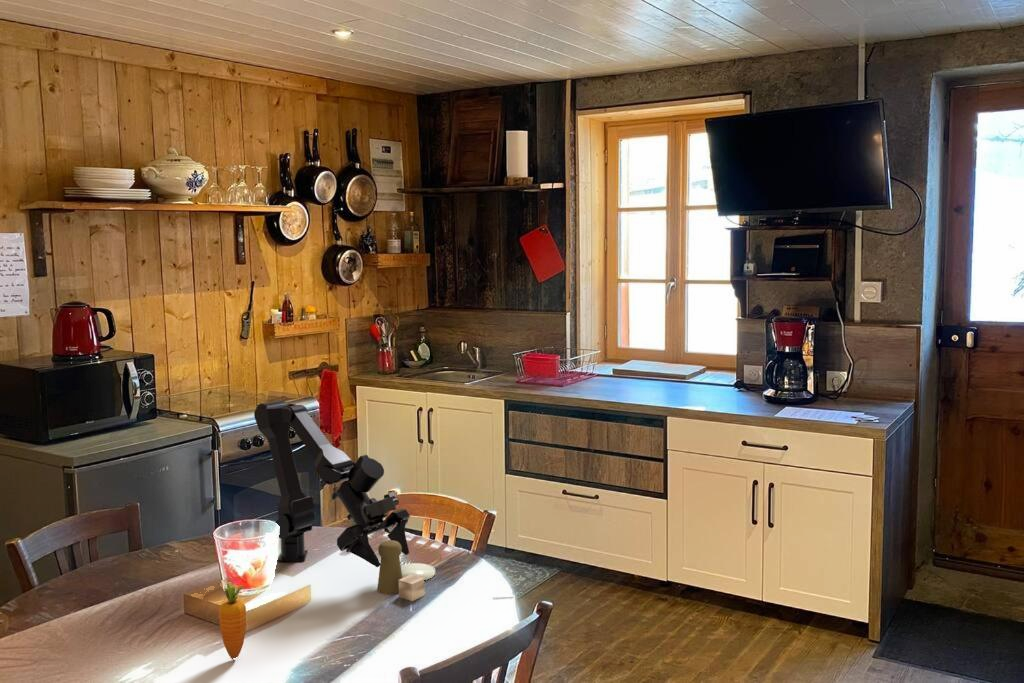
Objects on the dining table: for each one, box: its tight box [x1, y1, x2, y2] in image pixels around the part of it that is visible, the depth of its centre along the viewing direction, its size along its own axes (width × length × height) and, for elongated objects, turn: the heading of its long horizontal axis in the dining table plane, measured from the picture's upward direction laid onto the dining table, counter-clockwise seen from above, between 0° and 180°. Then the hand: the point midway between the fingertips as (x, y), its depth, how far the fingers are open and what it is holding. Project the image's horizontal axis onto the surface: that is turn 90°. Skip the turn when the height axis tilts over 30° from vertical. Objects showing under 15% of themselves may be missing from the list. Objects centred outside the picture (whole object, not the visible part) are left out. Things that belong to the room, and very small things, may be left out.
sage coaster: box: [401, 562, 436, 581], centre depth 211 cm, size 10×10×1 cm
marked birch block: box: [398, 575, 426, 602], centre depth 198 cm, size 4×4×4 cm
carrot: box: [218, 581, 247, 659], centre depth 168 cm, size 5×5×15 cm
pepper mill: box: [376, 539, 403, 595], centre depth 202 cm, size 6×6×11 cm
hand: (393, 560), depth 201 cm, fingers open, 9 cm apart
